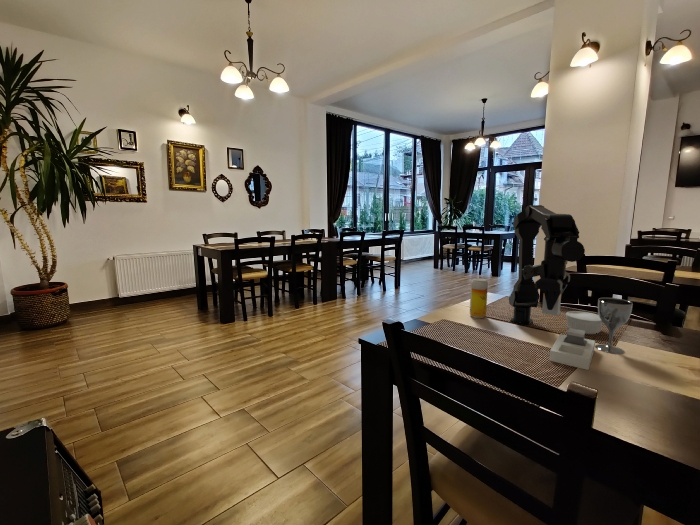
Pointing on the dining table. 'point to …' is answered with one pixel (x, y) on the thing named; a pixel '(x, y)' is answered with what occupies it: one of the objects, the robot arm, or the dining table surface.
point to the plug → (555, 309)
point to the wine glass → (613, 319)
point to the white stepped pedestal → (573, 349)
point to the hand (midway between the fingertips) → (551, 308)
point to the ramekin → (584, 321)
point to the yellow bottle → (478, 297)
